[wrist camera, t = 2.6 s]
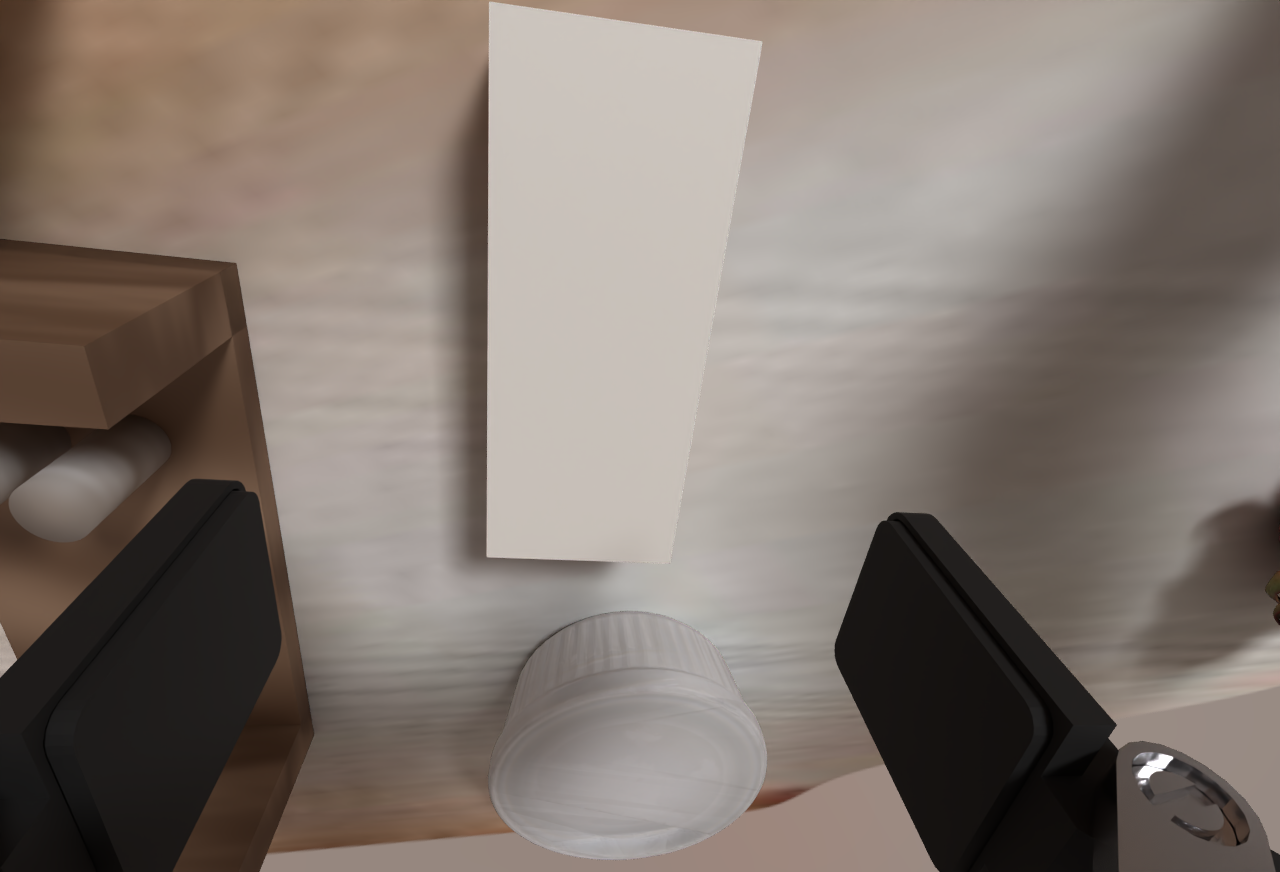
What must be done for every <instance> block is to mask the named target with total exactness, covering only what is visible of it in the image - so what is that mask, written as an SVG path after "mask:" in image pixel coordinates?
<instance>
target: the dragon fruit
mask: <svg viewBox="0 0 1280 872" xmlns="http://www.w3.org/2000/svg"><path fill="white" fill-rule="evenodd" d="M1279 530H1280V524H1279ZM1279 541H1280V535H1279ZM1265 591H1266V593H1267V594H1268V595H1269V596H1270V597H1271V598H1273V599H1274V600H1275V601H1276V602H1278V604H1277V605H1276V607H1275V609H1274V611H1273V616H1274V619H1275V620H1276V622H1277V623H1278V624H1279V625H1280V597H1279V596H1278V594H1279V593H1280V571H1277V572H1276V573H1275V574H1274V576H1273V577H1272V578H1271V579H1270V581H1269V582H1268V584H1267V586H1266V587H1265Z"/></svg>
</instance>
